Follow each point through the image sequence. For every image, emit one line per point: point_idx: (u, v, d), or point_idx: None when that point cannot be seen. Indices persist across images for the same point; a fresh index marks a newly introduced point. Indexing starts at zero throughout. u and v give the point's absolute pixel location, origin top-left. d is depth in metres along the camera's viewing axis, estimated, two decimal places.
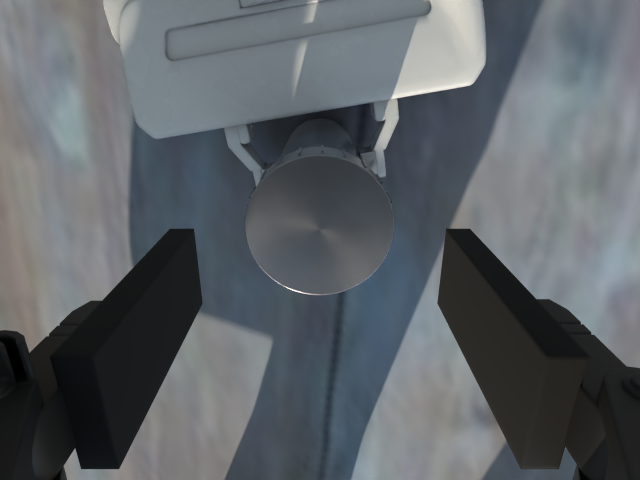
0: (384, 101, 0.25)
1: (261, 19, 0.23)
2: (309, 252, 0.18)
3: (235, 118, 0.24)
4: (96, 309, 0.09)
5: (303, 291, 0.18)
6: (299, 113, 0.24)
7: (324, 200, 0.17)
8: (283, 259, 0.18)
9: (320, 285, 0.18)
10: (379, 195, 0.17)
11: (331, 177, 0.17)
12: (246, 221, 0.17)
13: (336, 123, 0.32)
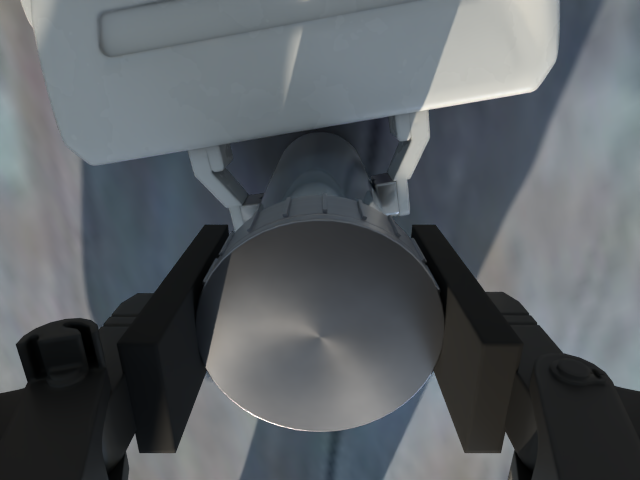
0: (410, 114, 0.18)
1: None
2: (303, 371, 0.11)
3: (202, 138, 0.17)
4: (151, 300, 0.09)
5: (293, 427, 0.11)
6: (291, 131, 0.17)
7: (328, 292, 0.10)
8: (261, 382, 0.11)
9: (321, 418, 0.11)
10: (421, 284, 0.10)
11: (340, 256, 0.10)
12: (197, 324, 0.10)
13: (341, 138, 0.25)
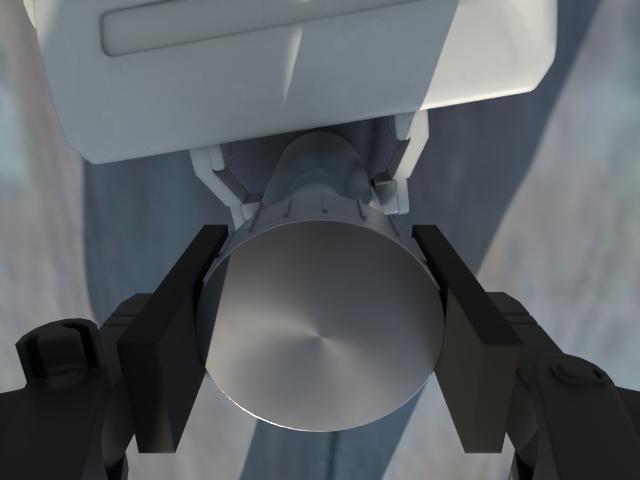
0: (409, 113, 0.18)
1: None
2: (364, 332, 0.10)
3: (203, 137, 0.18)
4: (150, 300, 0.09)
5: (440, 307, 0.10)
6: (292, 130, 0.18)
7: (272, 352, 0.11)
8: (396, 358, 0.11)
9: (414, 289, 0.10)
10: (215, 289, 0.10)
11: (235, 360, 0.11)
12: (363, 423, 0.11)
13: (341, 138, 0.25)
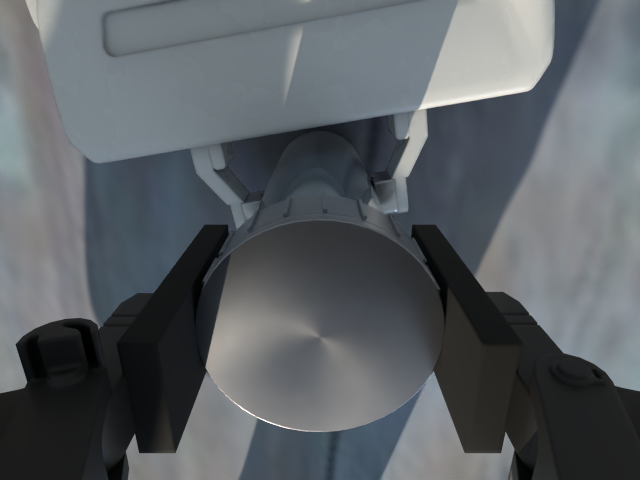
0: (408, 112, 0.18)
1: None
2: (291, 306, 0.10)
3: (204, 136, 0.18)
4: (150, 300, 0.09)
5: (225, 260, 0.10)
6: (292, 129, 0.18)
7: (359, 364, 0.11)
8: (301, 263, 0.10)
9: (223, 291, 0.10)
10: (323, 424, 0.11)
11: (383, 386, 0.11)
12: (400, 246, 0.09)
13: (341, 137, 0.25)
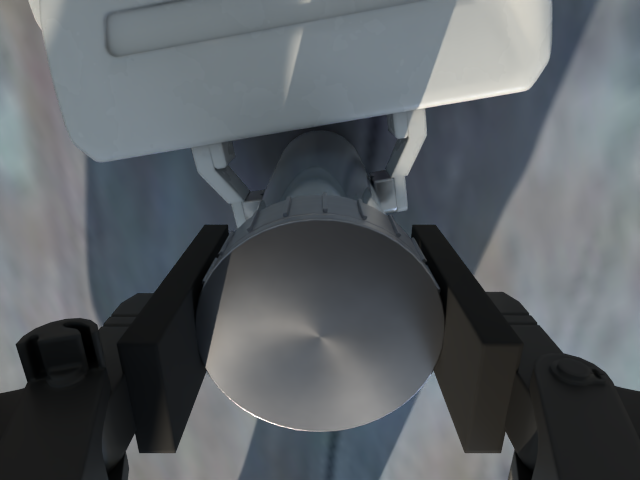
0: (407, 112, 0.18)
1: None
2: (303, 371, 0.11)
3: (205, 135, 0.18)
4: (150, 300, 0.09)
5: (293, 427, 0.11)
6: (292, 128, 0.18)
7: (328, 291, 0.10)
8: (260, 381, 0.11)
9: (321, 418, 0.11)
10: (421, 284, 0.10)
11: (340, 255, 0.10)
12: (196, 324, 0.10)
13: (341, 137, 0.25)
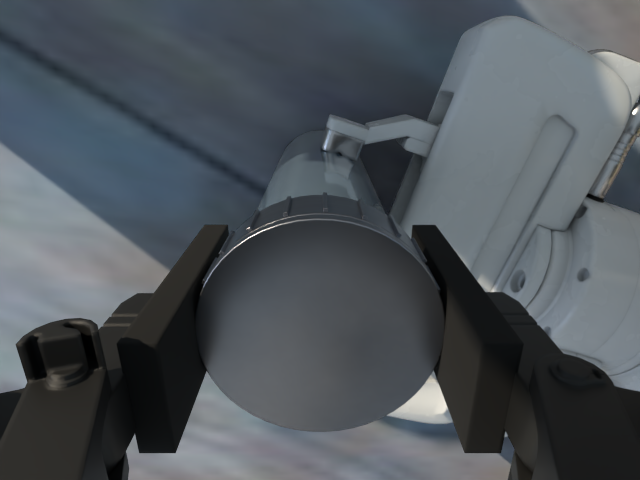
0: None
1: (513, 235, 0.20)
2: (303, 371, 0.11)
3: (443, 154, 0.18)
4: (150, 300, 0.09)
5: (293, 427, 0.11)
6: (403, 226, 0.20)
7: (328, 291, 0.10)
8: (260, 381, 0.11)
9: (321, 418, 0.11)
10: (422, 284, 0.10)
11: (341, 255, 0.10)
12: (196, 324, 0.10)
13: None
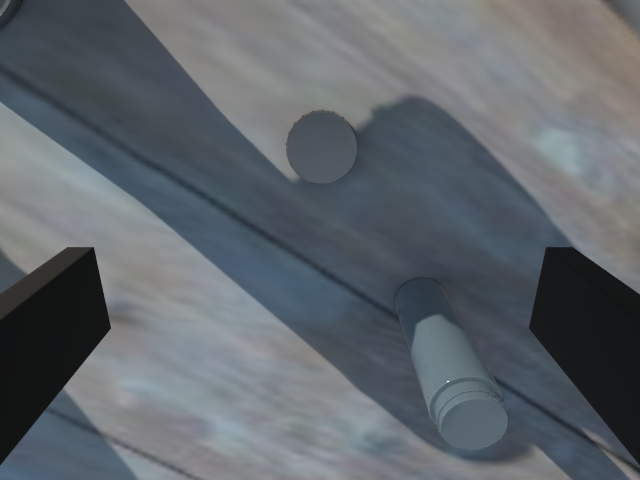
0: None
1: None
2: (317, 161, 0.37)
3: None
4: None
5: (313, 182, 0.38)
6: None
7: (324, 134, 0.36)
8: (304, 164, 0.37)
9: (322, 178, 0.37)
10: (349, 132, 0.36)
11: (327, 123, 0.36)
12: (287, 145, 0.36)
13: None
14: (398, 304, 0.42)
